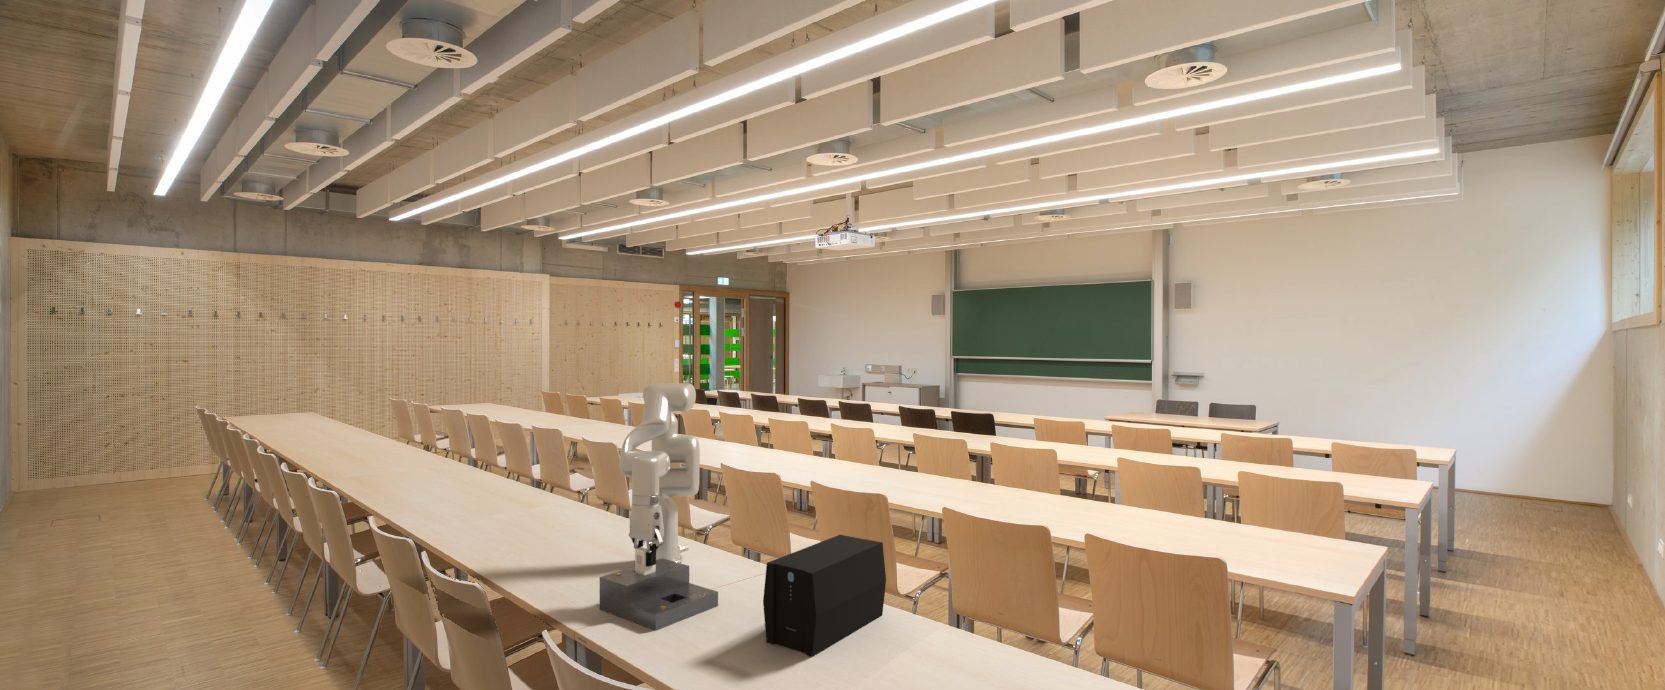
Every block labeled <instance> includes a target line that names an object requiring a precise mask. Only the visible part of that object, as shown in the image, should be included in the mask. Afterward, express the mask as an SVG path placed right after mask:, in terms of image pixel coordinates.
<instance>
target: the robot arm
mask: <svg viewBox="0 0 1665 690" xmlns="http://www.w3.org/2000/svg"><path fill="white" fill-rule="evenodd" d="M642 398H643V403H644V404H643V409H642V416H641V422H640V424H638V425H636V426H635V427H634V428H632V430H631V431H630V432H629V433H628V434H627V435H626V437H625V438H624V440H623V443H622V446H621V450H620V457H619V472H620V474H621V475H622V476H624V477H626V478H631V505H630V507H631V508H630V514H629V533H628V536H629V538H630V539H631V541H632V543H633V548H634V550H635V549H636V548H639V547H643V546H645V542H646V546H647V552H646V566H647V567H649V566H652V565H655V564H656V560H658V559H661V558H663V559H667V560H670V561H674V562H677V563H681V564H682V562H683V556H682V555H681V554H682V553H683V552H687V551H688V550H689V548H690V547H689V545H688V544H685V545H679V544H678V543H679V537H678V536H679V533H678V532H679V523H678V522H679V509H678V506H677V503H676V502H675V501H674V500H673V499H672V498H671V497H693V496H695V495H697V494H698V492H699V488H700V472H701V471H700V468H701V467H700V461H701V459H700V458H701V457H700V456H701V455H700V452H701V451H700V443H699V439H698V437H696V436H694V435H691V434H679V433H678V424H679V423H678V419H677V417H676V415H675V414H674V412H675V413H676V412H678V413H680V412H681V413H683V412H685V413H686V412H690V410H691V409H692V408H693V407H694V406H695V404H696V400H697V399H696V398H697V392H696V387H694V385H693V384H692V383H684V382H682V383H680V382H679V383H672V382H671V383H669V382H667V383H651V384H647V385H645V387H643V391H642ZM650 441H651V450H636V448H639V446H640V445H643V444H645V443H647V442H650ZM671 464H684V465H685V467H671Z"/></svg>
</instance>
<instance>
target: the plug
mask: <svg viewBox="0 0 1665 690" xmlns="http://www.w3.org/2000/svg"><path fill="white" fill-rule="evenodd" d="M634 550H635V551H634V552H635V553H634V557H635V558H634V565H635V566H634V567H635V573H638V574H641V575H647V574H650V573H653V572H656V564H655V565H652V566H649V567H647V566H646V552H647V545H644V546H643V547H639V548H636V549H634Z"/></svg>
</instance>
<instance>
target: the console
mask: <svg viewBox="0 0 1665 690" xmlns="http://www.w3.org/2000/svg"><path fill="white" fill-rule="evenodd" d="M718 606H719V591H717V590H714V589H711V588H706V587H704V586H700V585H697V584H695V583H690V565H688V564H685V563H682V562H681V563H677V562H674V561H670V560H667V559H663V558H661V559H658V560H656V572H653V573H650V574H647V575H641V574H638V573H635V566H632V567H629V568H624V569H622V570H619V571H615V572H611V573H609V574H606V575H602V576H600V577H599V610H601V611H602V612H606V613H608V614H611V615H613V616H615V617H619V618H622V619H625V620H627V621H630V622H632V623H634V624H638V625H641V626H643V627H645V628H648V629H651V630H653V631H658V630H660V629H663V628H665V627H668V626H671V625H673V624H676V623H677V622H681V621H683V620H686V619H689V618H690V617H694V616H695V615H699V614H702V613H704V612H707V611H708V610H711V609H713V608H716V607H718Z"/></svg>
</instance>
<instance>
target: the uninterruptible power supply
mask: <svg viewBox="0 0 1665 690" xmlns="http://www.w3.org/2000/svg"><path fill="white" fill-rule="evenodd" d="M885 564H886V563H885V555H884V544H883V542H882V541H876V540H871V539H866V538H862V537H861V538H860V537H856V536H855V537H854V536H850V535H844V534H838V535H835V536H832V537H830V538H828V539H826V540H825V539H824V540H823V541H820V542H818V543H814V544H812V545H810V546H809V545H808V546H807V547H805V548H801V549H799V550H797V551H794V552H791V553H789V554H786V555H783V556H782V557H779V558H775V559H773V560H770V561H767V562H766V565H765V566H766V568H765V578H764V590H763V598H762V599H763V600H762V605H763V617H764V627H765V639H766V642H765V643H766V644H769V645H772V646H774V645H776V646H779V647H780V646H781V647H783V648H786V649H789V650H792V651H795V652H799V653H801V654H805V656H806V657H810V658H814V657H815V656H817V655H818V654H820V653H822V652H823V651H826V650H827V649H828V648H830V647H832V646H834V645H835V644H838V643H839V642H841V641H842V640H843V639H846V638H847V637H848V636H850V635H852V634H854V633H855V632H857V631H859V630H861V629H862V628H864V627H865V626H867V625H869V624H870V623H873V622H874V621H875V620H877V619H879V618H880V617H882V616H883V612H884V604H885V592H886V587H887V586H886V585H887V575H886V565H885Z"/></svg>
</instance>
